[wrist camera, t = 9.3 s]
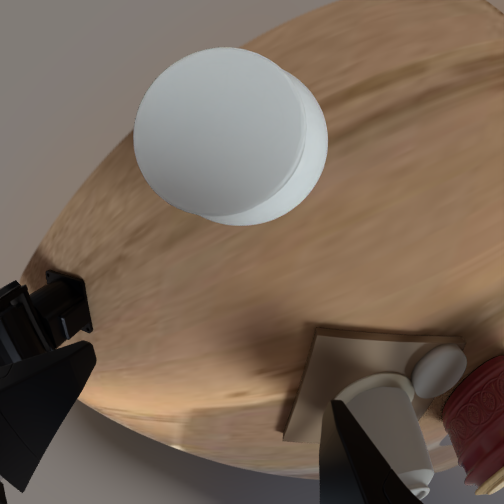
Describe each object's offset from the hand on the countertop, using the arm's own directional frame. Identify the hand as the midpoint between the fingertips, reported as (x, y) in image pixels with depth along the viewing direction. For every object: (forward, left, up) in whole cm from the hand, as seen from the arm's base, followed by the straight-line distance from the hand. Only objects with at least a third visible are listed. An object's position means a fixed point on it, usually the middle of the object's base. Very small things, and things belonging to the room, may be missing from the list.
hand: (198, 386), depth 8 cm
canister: (+32, -14, -13) cm, 37 cm away
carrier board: (+14, -13, -13) cm, 23 cm away
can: (+14, -13, -12) cm, 22 cm away
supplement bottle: (0, +8, -13) cm, 16 cm away
